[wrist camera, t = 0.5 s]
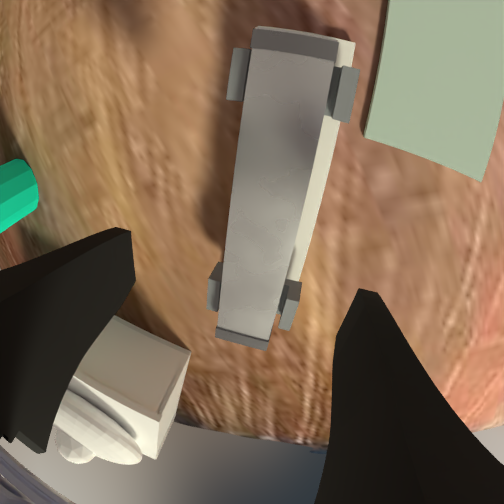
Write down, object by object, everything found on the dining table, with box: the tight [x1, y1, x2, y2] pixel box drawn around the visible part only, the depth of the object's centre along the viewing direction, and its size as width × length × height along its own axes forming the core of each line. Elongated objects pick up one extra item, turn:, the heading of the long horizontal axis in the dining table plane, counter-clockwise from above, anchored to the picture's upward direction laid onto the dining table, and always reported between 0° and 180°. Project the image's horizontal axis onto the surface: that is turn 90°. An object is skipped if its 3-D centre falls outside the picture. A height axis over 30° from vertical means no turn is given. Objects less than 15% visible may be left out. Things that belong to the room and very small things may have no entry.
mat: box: [363, 0, 504, 182], centre depth 9 cm, size 8×16×1 cm, turn 172°
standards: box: [207, 26, 360, 330], centre depth 15 cm, size 5×18×4 cm, turn 172°
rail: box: [215, 27, 339, 351], centre depth 13 cm, size 3×16×3 cm, turn 172°
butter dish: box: [53, 315, 191, 464], centre depth 26 cm, size 18×18×16 cm
